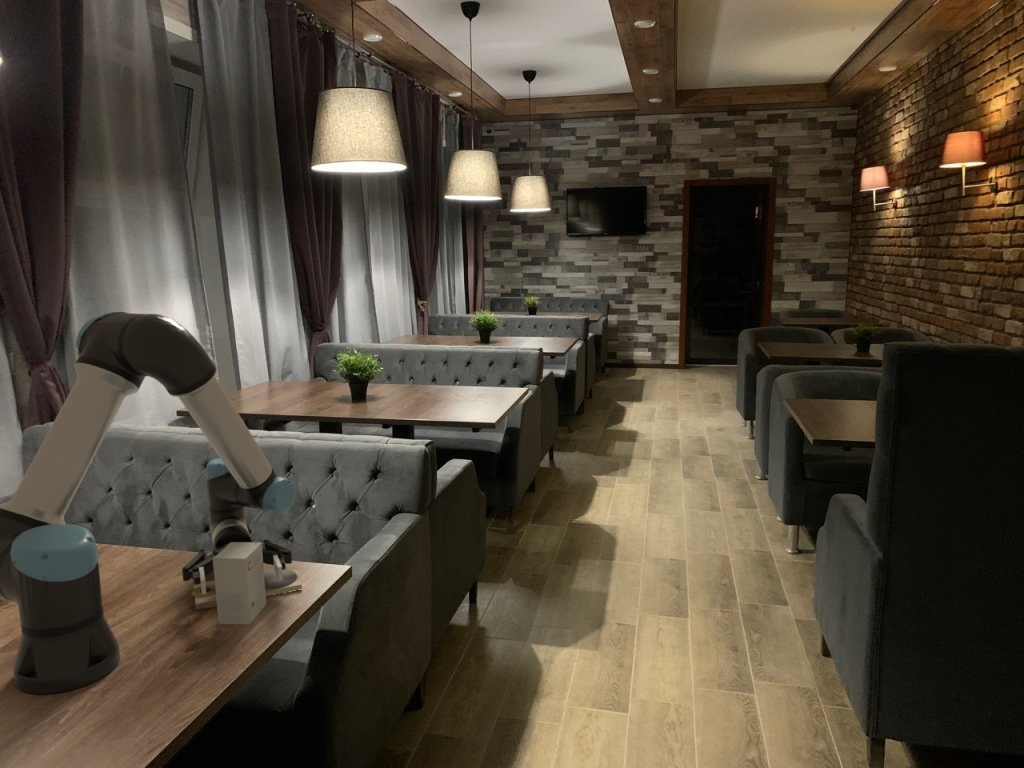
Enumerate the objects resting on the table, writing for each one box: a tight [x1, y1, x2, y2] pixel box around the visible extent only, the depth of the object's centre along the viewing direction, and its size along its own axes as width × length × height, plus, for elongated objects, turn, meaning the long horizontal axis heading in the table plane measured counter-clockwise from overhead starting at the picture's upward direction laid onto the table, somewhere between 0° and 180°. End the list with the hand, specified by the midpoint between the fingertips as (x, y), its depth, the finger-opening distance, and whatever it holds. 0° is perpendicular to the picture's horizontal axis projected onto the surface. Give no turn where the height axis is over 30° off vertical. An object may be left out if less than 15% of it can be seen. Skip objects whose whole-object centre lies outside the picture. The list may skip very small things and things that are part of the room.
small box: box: [213, 541, 267, 625], centre depth 143 cm, size 8×6×13 cm
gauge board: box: [191, 566, 303, 611], centre depth 155 cm, size 10×20×2 cm, turn 115°
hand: (242, 580), depth 142 cm, fingers open, 13 cm apart
